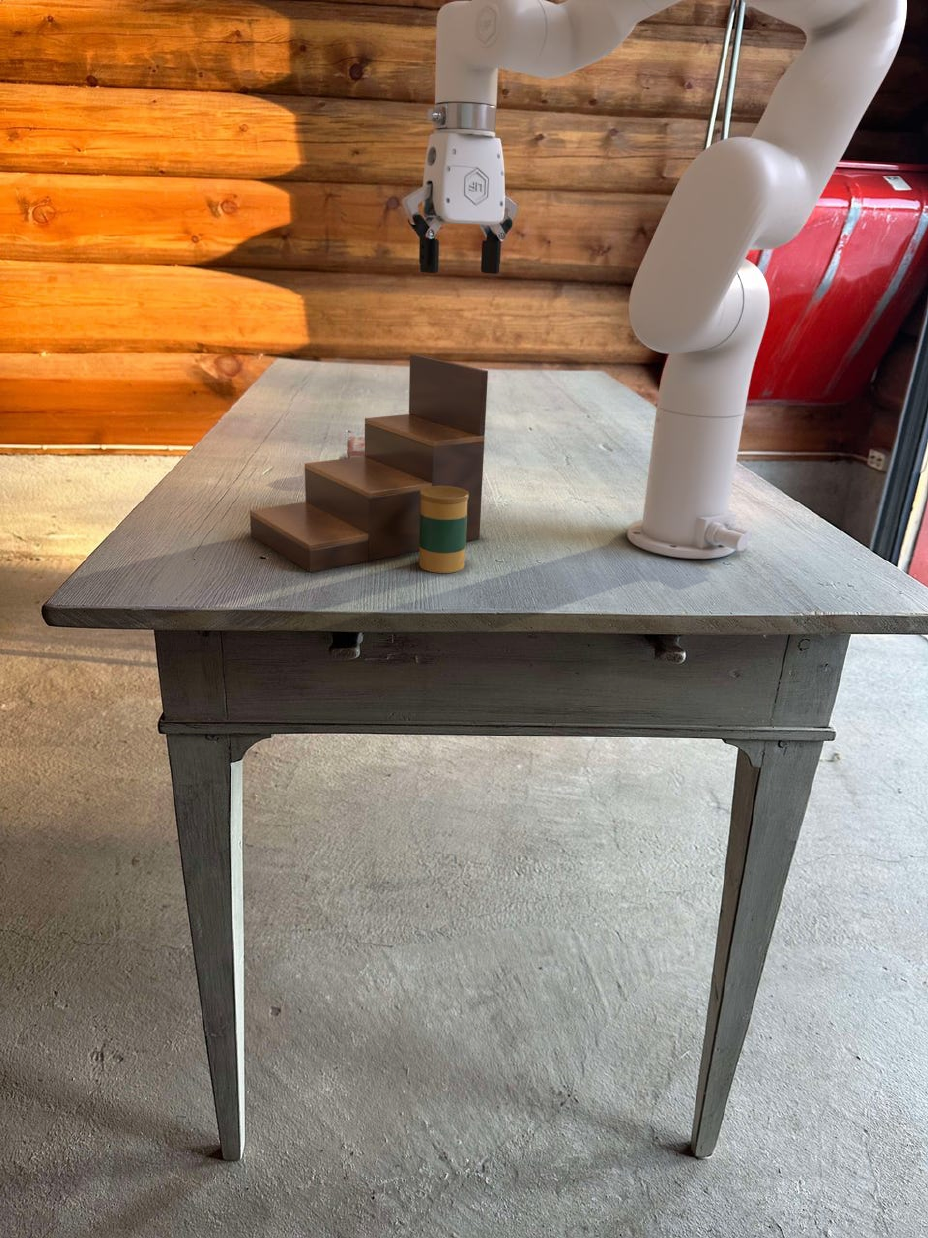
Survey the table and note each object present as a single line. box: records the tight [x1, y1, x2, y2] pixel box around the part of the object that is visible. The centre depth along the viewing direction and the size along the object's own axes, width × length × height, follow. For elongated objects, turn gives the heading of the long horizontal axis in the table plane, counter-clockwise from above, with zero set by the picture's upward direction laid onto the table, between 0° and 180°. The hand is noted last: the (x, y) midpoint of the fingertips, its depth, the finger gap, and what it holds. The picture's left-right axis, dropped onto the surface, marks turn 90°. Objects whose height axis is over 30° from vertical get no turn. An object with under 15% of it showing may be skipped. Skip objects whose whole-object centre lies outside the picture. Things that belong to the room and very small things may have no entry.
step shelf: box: [249, 353, 489, 573], centre depth 101 cm, size 22×14×19 cm, turn 127°
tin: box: [418, 486, 469, 574], centre depth 95 cm, size 5×5×8 cm
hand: (460, 272), depth 118 cm, fingers open, 9 cm apart
